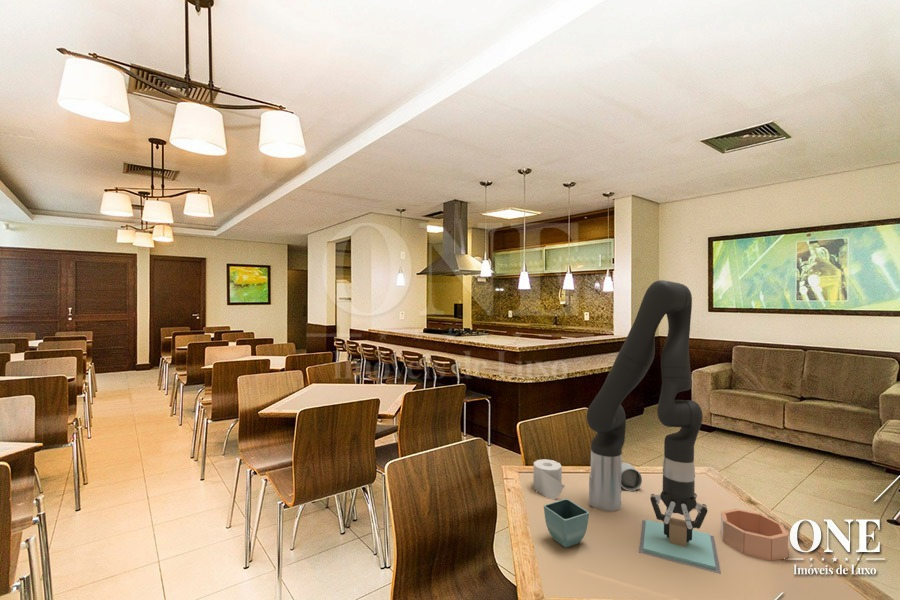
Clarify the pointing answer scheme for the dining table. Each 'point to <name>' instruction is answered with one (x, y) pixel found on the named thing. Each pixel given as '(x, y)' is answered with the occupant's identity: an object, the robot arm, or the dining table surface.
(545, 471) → the toilet tissue
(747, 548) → the bowl
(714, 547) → the mat
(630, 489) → the ceramic mug
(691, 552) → the lid
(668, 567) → the dining table surface
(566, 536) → the flower pot
